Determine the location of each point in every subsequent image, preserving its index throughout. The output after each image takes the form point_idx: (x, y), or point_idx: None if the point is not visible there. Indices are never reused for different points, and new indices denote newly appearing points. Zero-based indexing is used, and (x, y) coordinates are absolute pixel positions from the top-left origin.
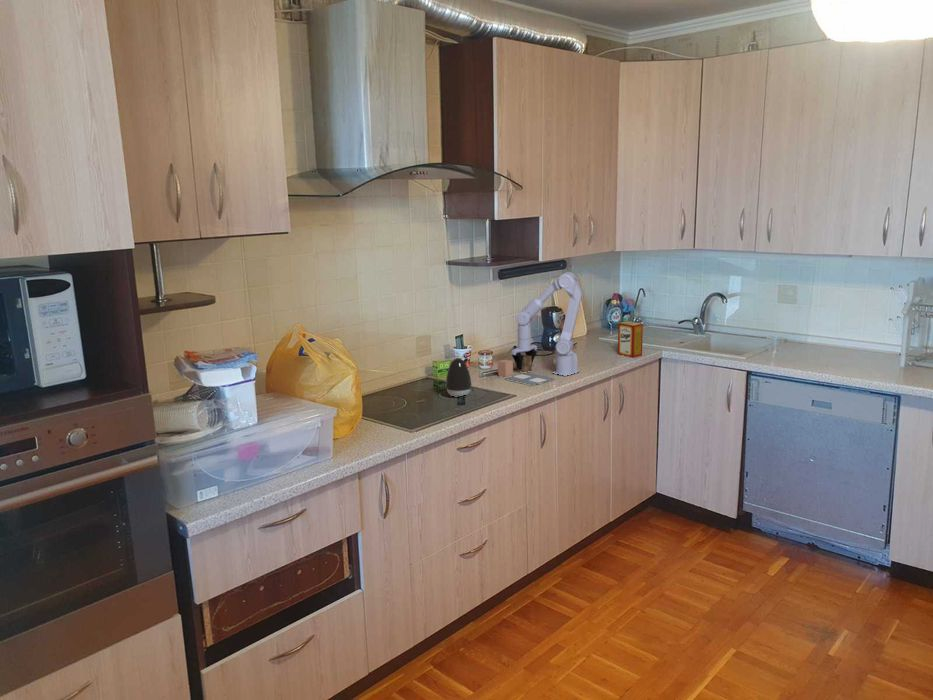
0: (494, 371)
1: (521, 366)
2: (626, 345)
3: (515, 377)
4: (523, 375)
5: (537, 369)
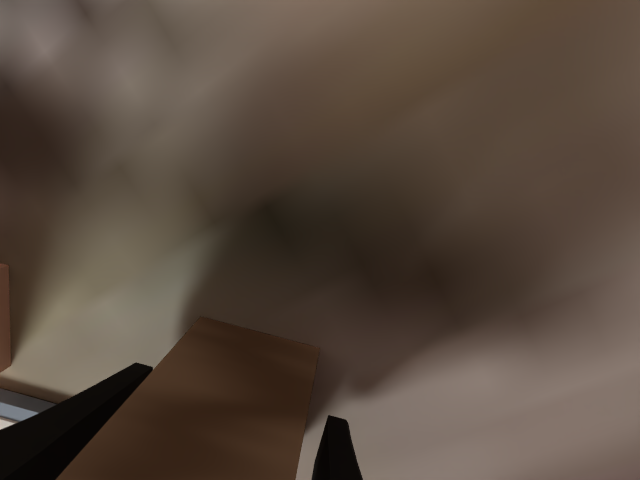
0: (34, 39)
1: None
2: None
3: None
4: None
5: (413, 463)
